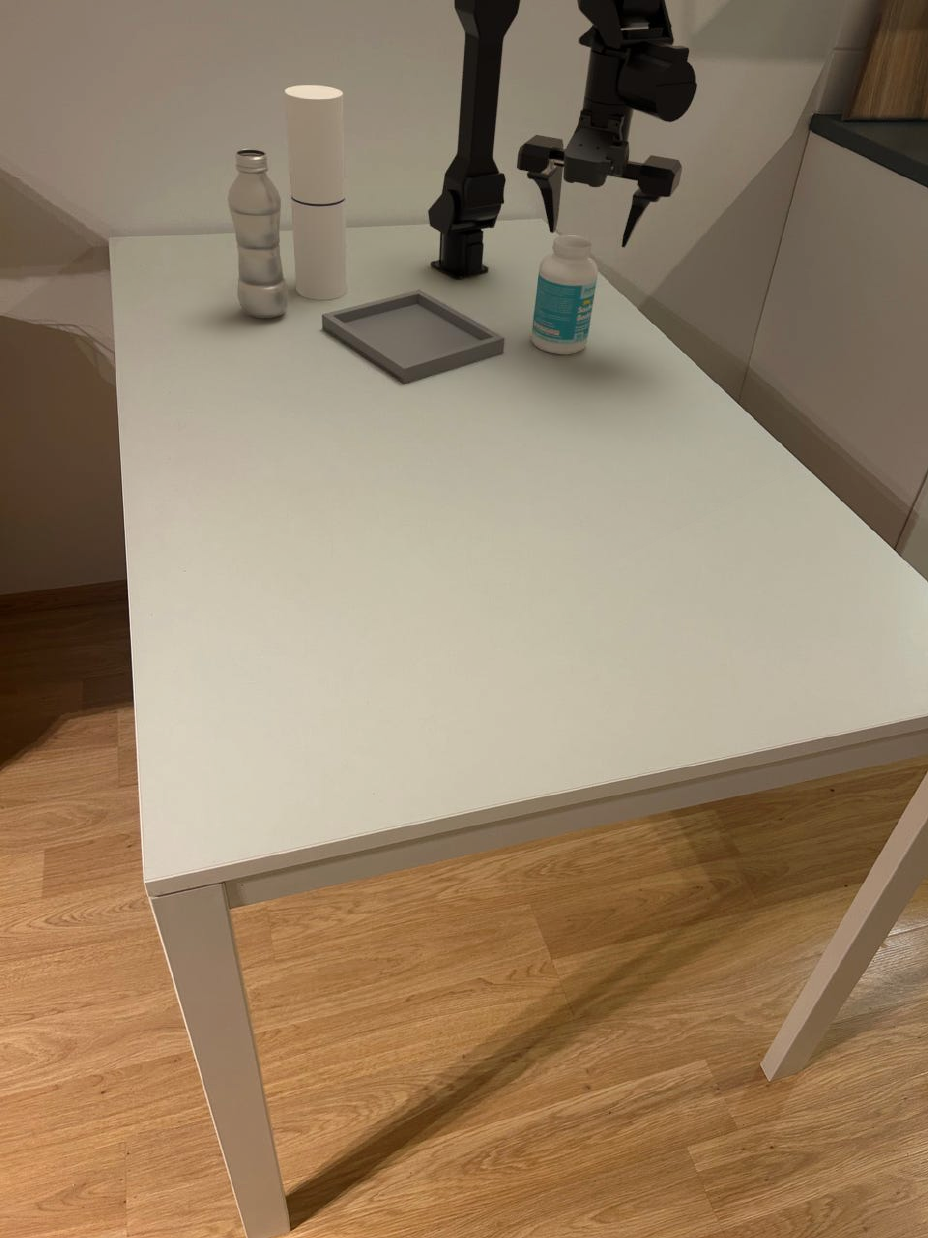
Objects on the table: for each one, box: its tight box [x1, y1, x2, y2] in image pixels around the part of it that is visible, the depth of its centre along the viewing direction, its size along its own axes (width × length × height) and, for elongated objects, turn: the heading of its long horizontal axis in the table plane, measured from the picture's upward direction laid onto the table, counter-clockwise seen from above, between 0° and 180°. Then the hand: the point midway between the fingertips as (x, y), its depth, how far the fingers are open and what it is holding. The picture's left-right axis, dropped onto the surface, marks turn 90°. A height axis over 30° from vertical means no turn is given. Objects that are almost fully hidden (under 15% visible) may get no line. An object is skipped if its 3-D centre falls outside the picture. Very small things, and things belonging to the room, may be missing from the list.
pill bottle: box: [530, 234, 599, 355], centre depth 119 cm, size 8×7×14 cm
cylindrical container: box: [284, 84, 348, 301], centre depth 124 cm, size 7×7×25 cm
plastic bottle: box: [227, 148, 289, 319], centre depth 118 cm, size 6×7×20 cm
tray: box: [321, 289, 506, 385], centre depth 121 cm, size 18×16×2 cm
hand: (588, 238), depth 116 cm, fingers open, 9 cm apart
